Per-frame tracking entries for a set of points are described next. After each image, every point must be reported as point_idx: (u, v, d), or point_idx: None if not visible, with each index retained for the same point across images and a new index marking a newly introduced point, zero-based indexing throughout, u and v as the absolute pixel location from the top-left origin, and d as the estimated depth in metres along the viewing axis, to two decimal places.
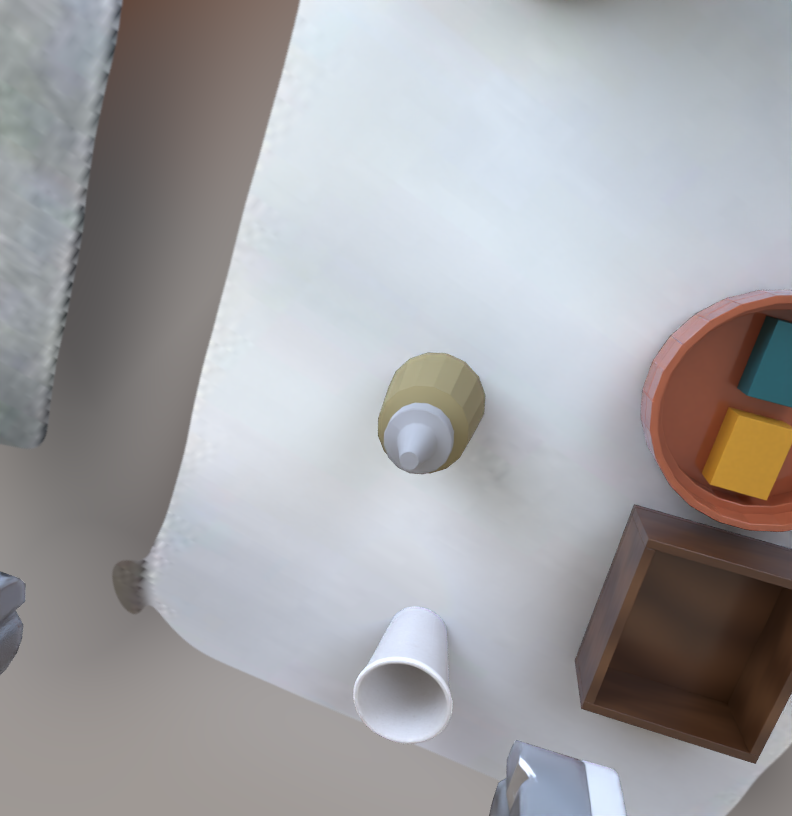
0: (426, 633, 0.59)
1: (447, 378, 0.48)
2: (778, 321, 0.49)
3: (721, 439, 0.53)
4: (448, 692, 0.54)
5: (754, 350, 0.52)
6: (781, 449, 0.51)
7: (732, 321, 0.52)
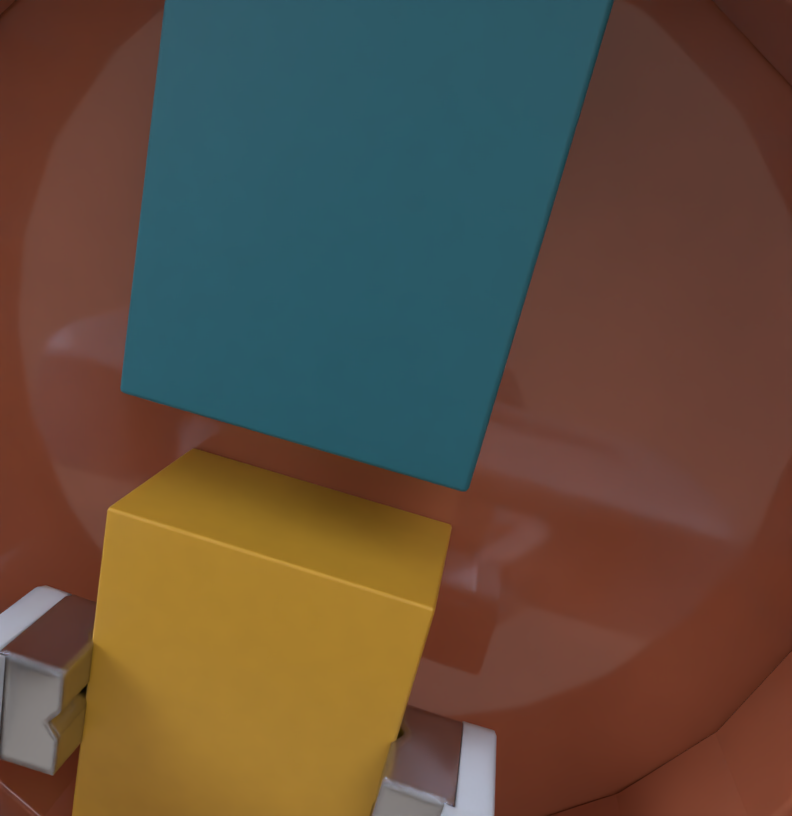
0: None
1: None
2: None
3: None
4: None
5: None
6: (362, 703, 0.09)
7: None
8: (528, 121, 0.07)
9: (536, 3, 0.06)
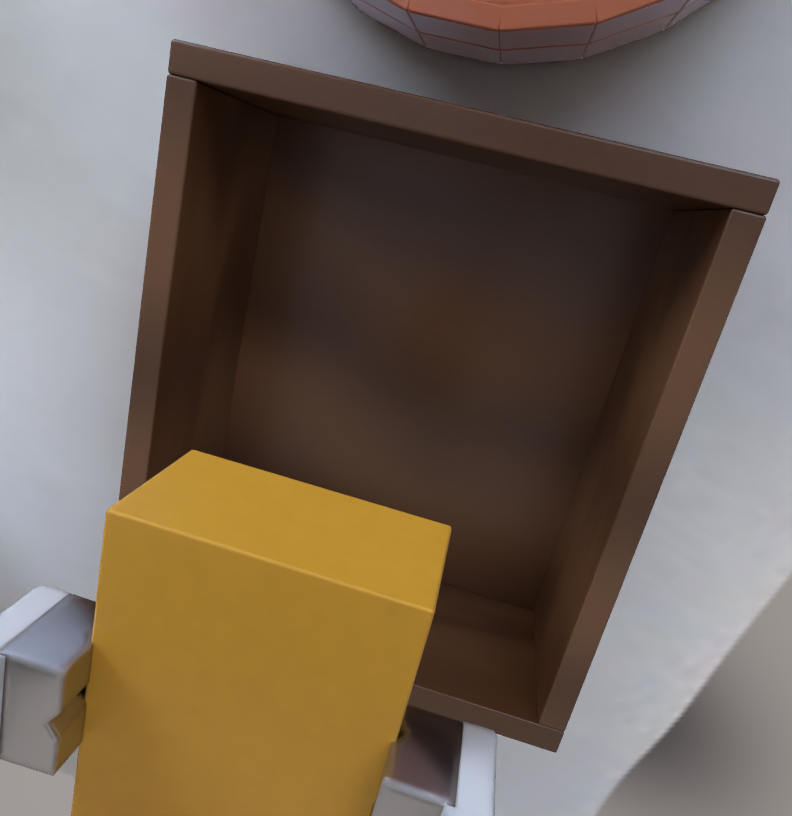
0: None
1: None
2: None
3: None
4: None
5: None
6: (362, 705, 0.09)
7: None
8: None
9: None
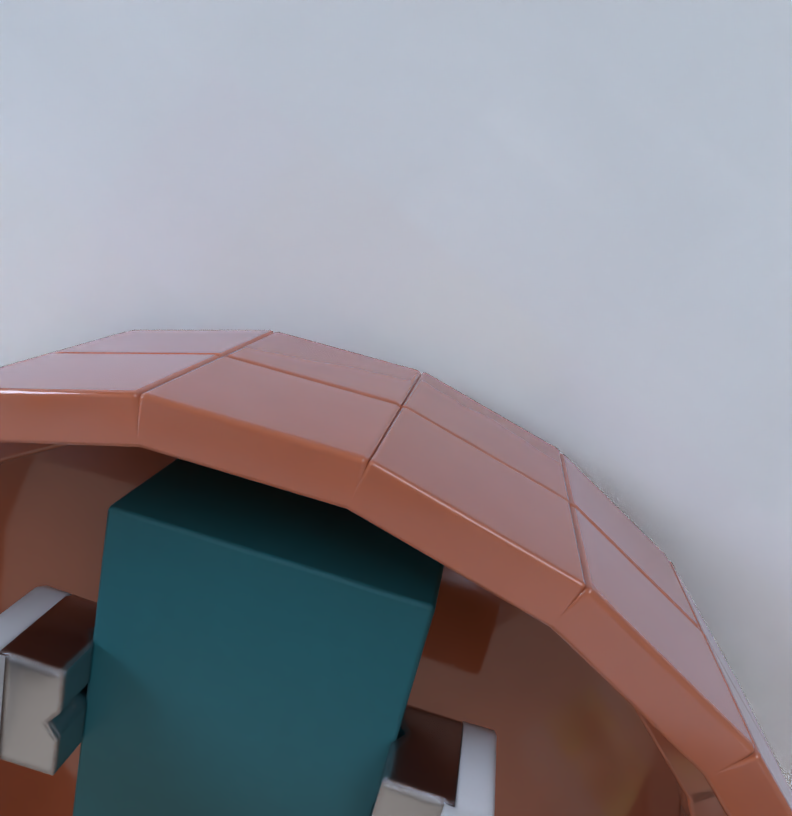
0: None
1: None
2: (109, 514, 0.09)
3: None
4: None
5: None
6: None
7: (67, 466, 0.12)
8: (366, 716, 0.09)
9: (366, 647, 0.09)
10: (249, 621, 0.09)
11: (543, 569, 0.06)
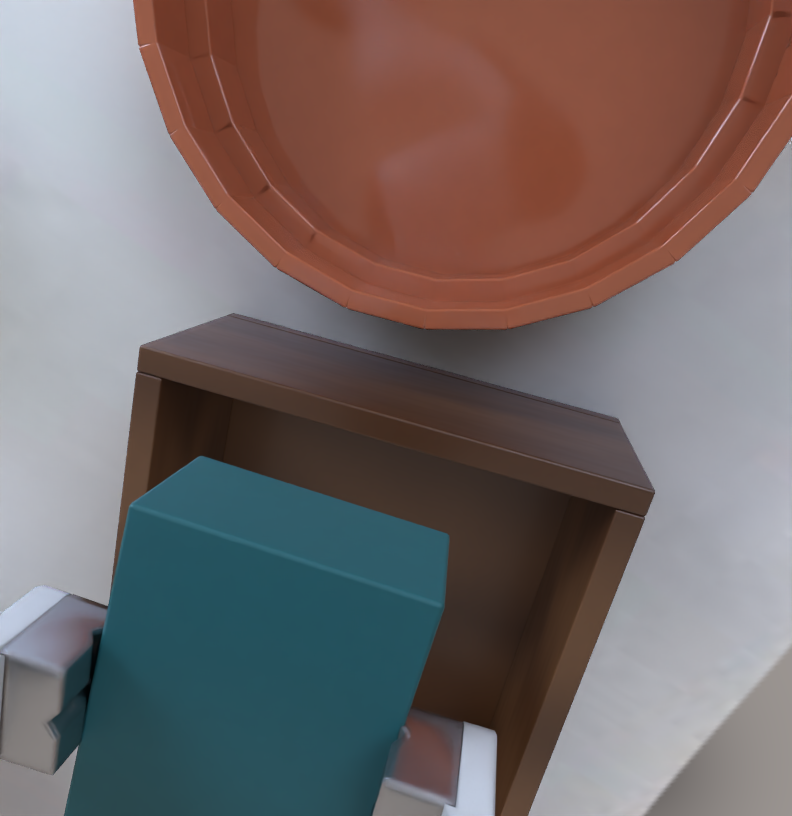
0: None
1: None
2: (129, 511, 0.09)
3: None
4: None
5: None
6: None
7: None
8: (371, 714, 0.09)
9: (376, 645, 0.09)
10: (262, 619, 0.09)
11: None
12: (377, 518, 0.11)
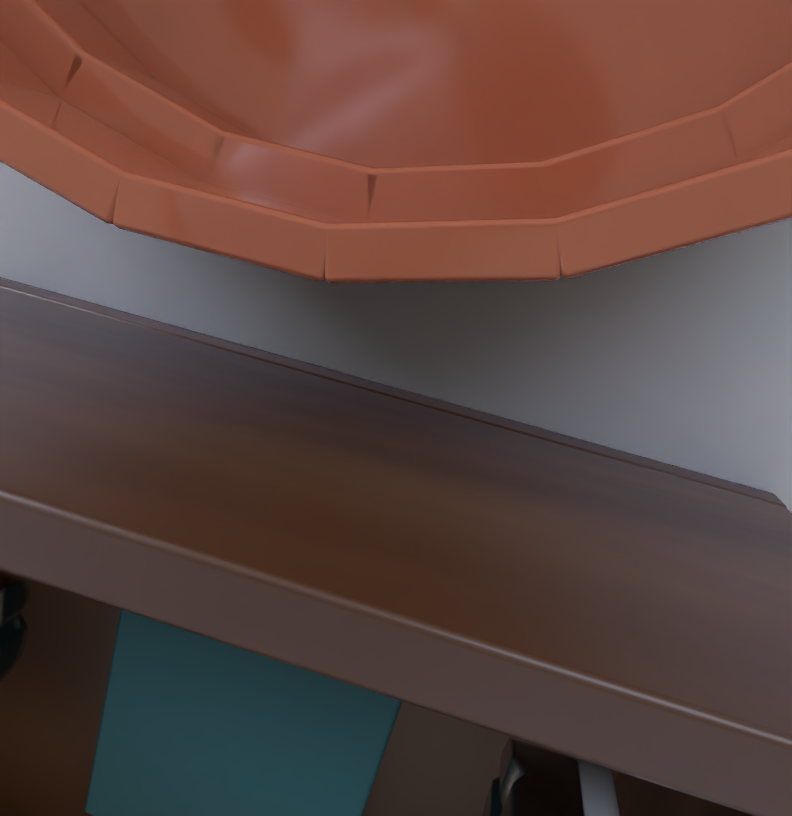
0: None
1: None
2: None
3: None
4: None
5: None
6: None
7: None
8: (365, 707, 0.10)
9: None
10: None
11: None
12: None
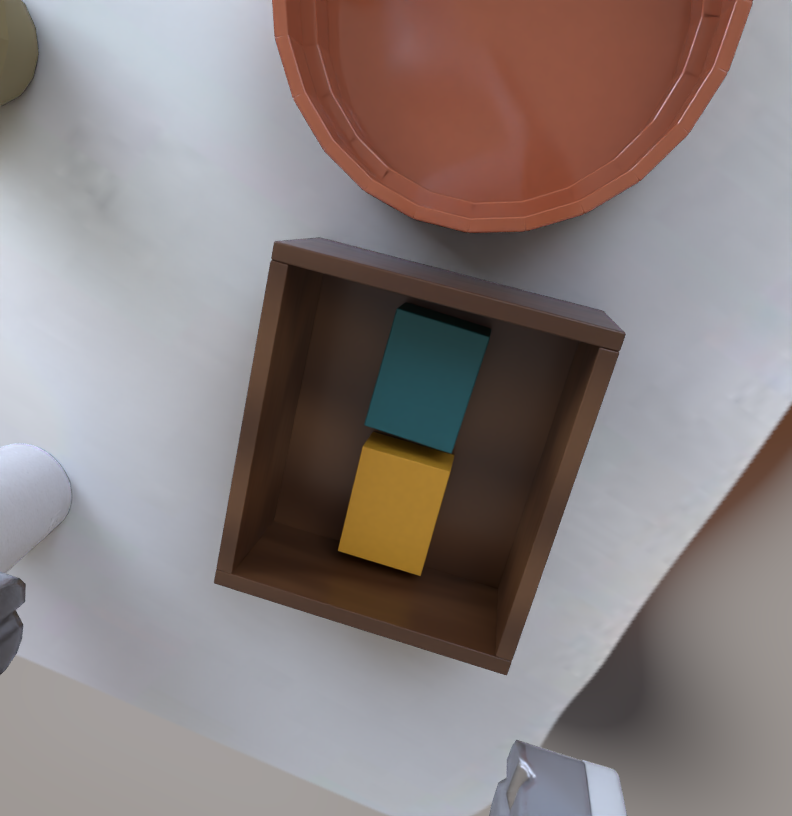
0: None
1: None
2: (397, 310, 0.31)
3: None
4: None
5: None
6: (430, 499, 0.33)
7: None
8: (467, 372, 0.31)
9: (469, 350, 0.31)
10: (435, 343, 0.31)
11: None
12: (467, 321, 0.33)
